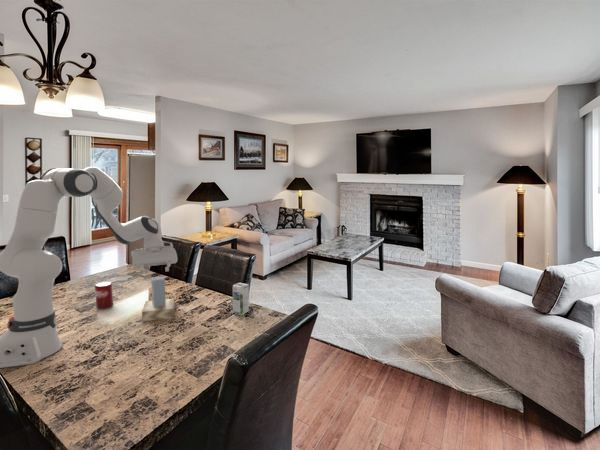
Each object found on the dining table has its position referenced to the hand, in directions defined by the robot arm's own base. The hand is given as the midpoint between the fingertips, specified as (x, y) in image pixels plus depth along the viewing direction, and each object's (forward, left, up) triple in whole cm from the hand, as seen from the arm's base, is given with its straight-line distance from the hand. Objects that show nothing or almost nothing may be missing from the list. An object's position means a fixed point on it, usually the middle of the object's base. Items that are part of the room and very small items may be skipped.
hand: (156, 272), depth 154 cm
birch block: (0, -4, -20) cm, 20 cm away
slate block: (0, -4, -15) cm, 15 cm away
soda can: (-23, +17, -20) cm, 35 cm away
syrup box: (+35, -20, -20) cm, 45 cm away
